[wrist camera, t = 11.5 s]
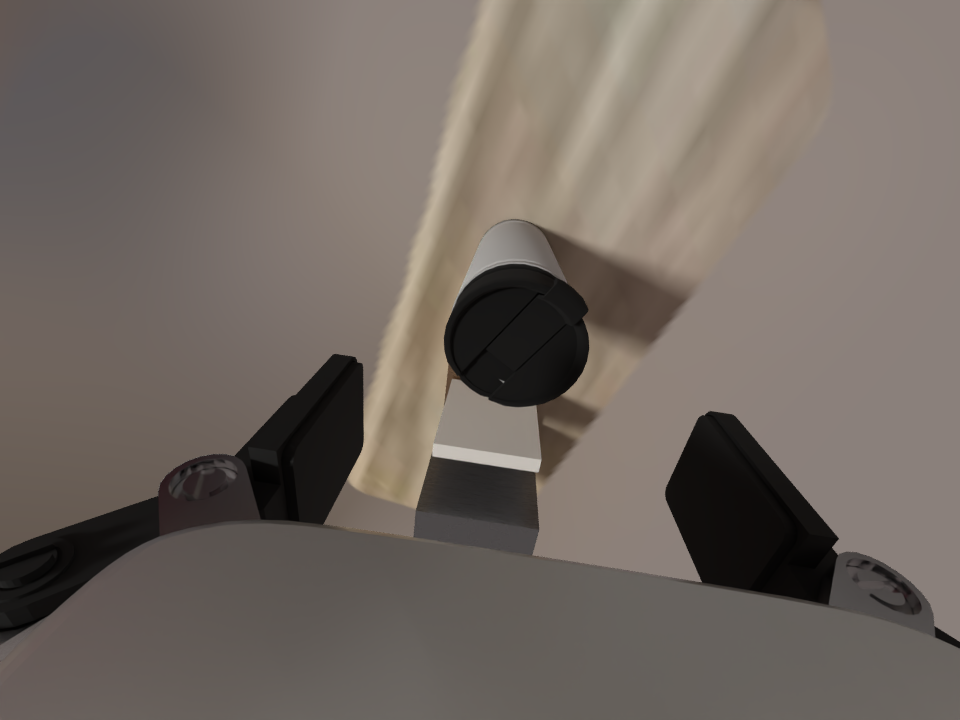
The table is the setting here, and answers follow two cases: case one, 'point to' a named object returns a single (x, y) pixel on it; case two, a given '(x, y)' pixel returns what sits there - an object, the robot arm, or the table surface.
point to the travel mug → (517, 320)
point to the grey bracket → (478, 504)
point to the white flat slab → (487, 431)
